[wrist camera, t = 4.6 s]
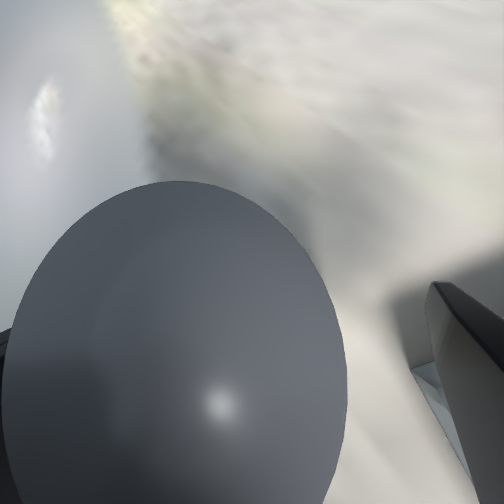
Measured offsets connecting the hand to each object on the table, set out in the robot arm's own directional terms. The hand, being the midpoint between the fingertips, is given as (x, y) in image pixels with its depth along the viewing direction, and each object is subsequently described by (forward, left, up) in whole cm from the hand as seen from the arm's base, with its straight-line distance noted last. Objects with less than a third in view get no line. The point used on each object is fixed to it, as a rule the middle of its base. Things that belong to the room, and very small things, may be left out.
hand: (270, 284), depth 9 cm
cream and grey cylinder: (-1, -1, -7) cm, 7 cm away
